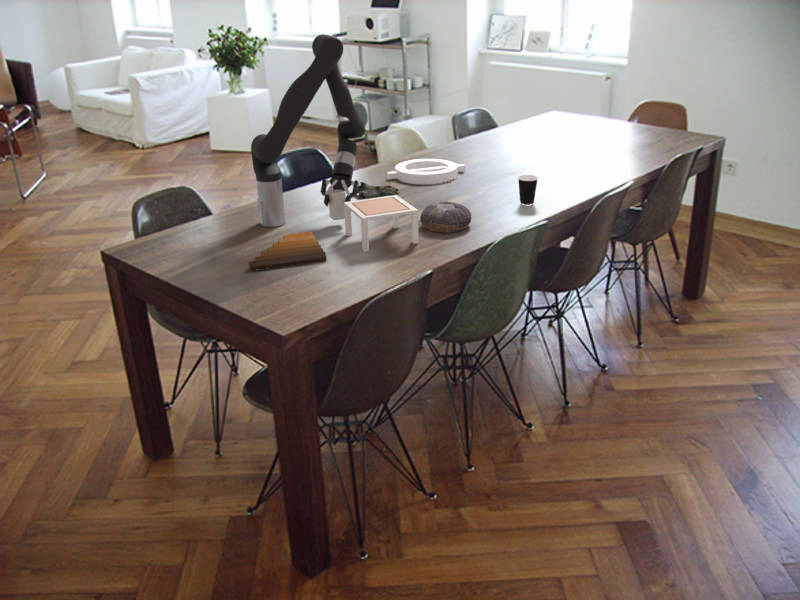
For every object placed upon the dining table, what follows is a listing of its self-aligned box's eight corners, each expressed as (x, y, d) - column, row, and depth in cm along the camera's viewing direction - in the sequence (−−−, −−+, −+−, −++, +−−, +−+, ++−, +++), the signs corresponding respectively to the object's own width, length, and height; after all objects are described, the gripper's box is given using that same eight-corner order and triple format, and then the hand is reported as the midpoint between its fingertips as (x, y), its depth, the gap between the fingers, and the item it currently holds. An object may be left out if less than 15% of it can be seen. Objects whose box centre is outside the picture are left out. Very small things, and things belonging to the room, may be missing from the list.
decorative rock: (384, 177, 335) (407, 181, 324) (385, 191, 337) (408, 196, 326) (349, 183, 323) (372, 188, 312) (350, 198, 325) (372, 203, 314)
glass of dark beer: (541, 205, 306) (542, 177, 301) (526, 208, 302) (527, 181, 297) (527, 200, 312) (528, 173, 307) (512, 204, 308) (513, 177, 303)
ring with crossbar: (467, 172, 356) (467, 161, 354) (441, 187, 333) (441, 177, 331) (412, 166, 368) (412, 156, 366) (384, 181, 345) (384, 170, 343)
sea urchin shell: (482, 224, 285) (480, 199, 280) (448, 245, 275) (445, 220, 270) (445, 212, 297) (442, 189, 292) (411, 233, 287) (407, 208, 282)
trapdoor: (367, 218, 261) (367, 215, 261) (353, 205, 274) (352, 203, 274) (408, 212, 266) (408, 209, 266) (392, 200, 279) (392, 197, 279)
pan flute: (250, 273, 250) (326, 262, 256) (249, 263, 248) (326, 253, 255) (241, 248, 271) (311, 239, 278) (240, 238, 270) (310, 230, 277)
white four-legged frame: (364, 251, 263) (362, 218, 258) (345, 234, 280) (343, 202, 275) (418, 243, 270) (417, 209, 265) (397, 226, 287) (396, 194, 282)
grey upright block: (333, 220, 286) (332, 194, 282) (329, 216, 290) (328, 190, 286) (346, 218, 288) (345, 192, 283) (342, 214, 292) (341, 189, 288)
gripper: (323, 160, 289) (314, 200, 283) (360, 162, 286) (352, 202, 280) (328, 170, 296) (320, 209, 290) (364, 172, 293) (357, 211, 287)
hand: (336, 205), depth 285 cm, fingers closed on grey upright block, 7 cm apart
